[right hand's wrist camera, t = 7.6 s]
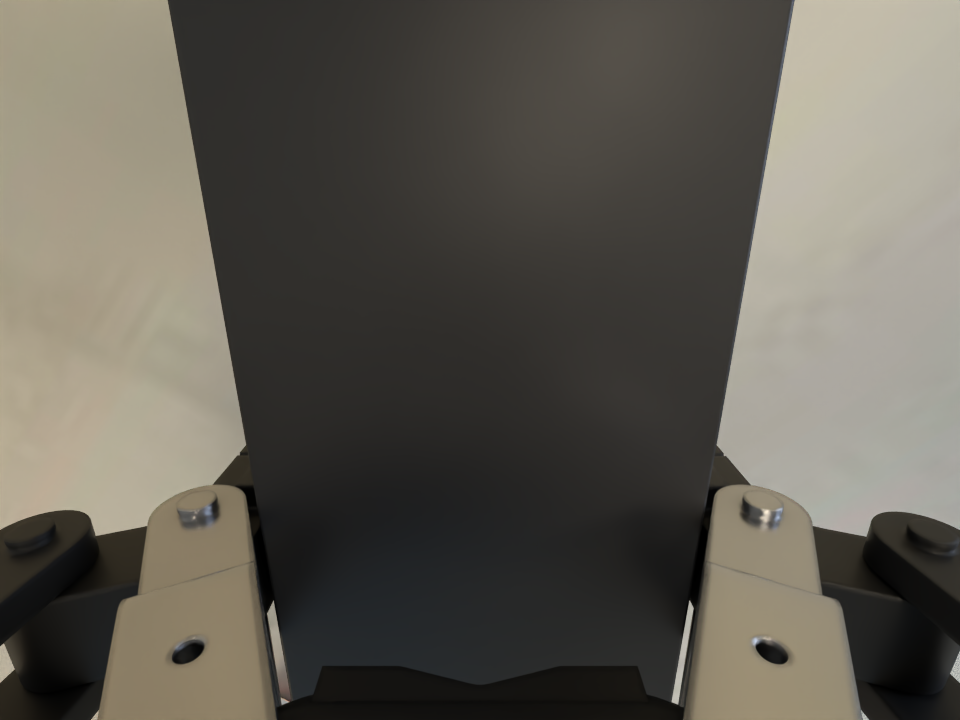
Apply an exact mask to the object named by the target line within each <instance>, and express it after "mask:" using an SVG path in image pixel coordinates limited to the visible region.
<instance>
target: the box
mask: <svg viewBox="0 0 960 720" xmlns="http://www.w3.org/2000/svg"><path fill="white" fill-rule="evenodd" d="M168 4H169V10H170V15H171V21H172V27H173V32H174V38H175V44H176V49H177V55H178V61H179V66H180V72H181V78H182V83H183V89H184V95H185V100H186V106H187V112H188V117H189V123H190V129H191V134H192V140H193V145H194V151H195V157H196V162H197V168H198V174H199V179H200V185H201V191H202V196H203V202H204V208H205V213H206V219H207V225H208V230H209V236H210V242H211V247H212V253H213V259H214V264H215V270H216V276H217V281H218V287H219V293H220V298H221V304H222V310H223V315H224V321H225V327H226V332H227V338H228V344H229V349H230V355H231V361H232V366H233V372H234V378H235V383H236V389H237V395H238V400H239V406H240V412H241V417H242V423H243V429H244V434H245V440H246V446H247V451H248V457H249V463H250V468H251V474H252V480H253V485H254V491H255V496H256V502H257V508H258V513H259V519H260V525H261V530H262V536H263V542H264V547H265V553H266V559H267V564H268V570H269V576H270V581H271V587H272V593H273V598H274V604H275V610H276V615H277V621H278V627H279V632H280V638H281V644H282V649H283V655H284V661H285V666H286V672H287V678H288V683H289V689H290V695H291V700H292V701H294V700H297V699H299V698H302V697H305V696H309V695H313V694H314V691H315V688H316V684H317V681H318V678H319V675H320V672H321V669H322V666H402V667H406V668H410V669H414V670H418V671H422V672H426V673H430V674H434V675H438V676H442V677H446V678H450V679H454V680H458V681H462V682H466V683H470V684H476V685H484V684H490V683H494V682H498V681H502V680H506V679H510V678H514V677H518V676H522V675H526V674H530V673H534V672H538V671H542V670H546V669H550V668H554V667H558V666H638V669H639V672H640V675H641V678H642V681H643V684H644V688H645V691H646V694H647V695H651V696H655V697H658V698H661V699H663V700H666V701H669V702H671V701H672V695H673V690H674V684H675V678H676V672H677V667H678V661H679V655H680V650H681V644H682V638H683V633H684V627H685V621H686V615H687V610H688V604H689V598H690V593H691V587H692V581H693V576H694V570H695V564H696V558H697V553H698V547H699V541H700V536H701V530H702V524H703V519H704V513H705V507H706V501H707V496H708V490H709V484H710V479H711V473H712V467H713V462H714V456H715V450H716V444H717V439H718V433H719V427H720V422H721V416H722V410H723V405H724V399H725V393H726V387H727V382H728V376H729V370H730V365H731V359H732V353H733V348H734V342H735V336H736V330H737V325H738V319H739V313H740V308H741V302H742V296H743V291H744V285H745V279H746V273H747V268H748V262H749V256H750V251H751V245H752V239H753V234H754V228H755V222H756V216H757V211H758V205H759V199H760V194H761V188H762V182H763V177H764V171H765V165H766V159H767V154H768V148H769V142H770V137H771V131H772V125H773V120H774V114H775V108H776V102H777V97H778V91H779V85H780V80H781V74H782V68H783V63H784V57H785V51H786V45H787V40H788V34H789V28H790V23H791V17H792V11H793V6H794V0H168Z"/></svg>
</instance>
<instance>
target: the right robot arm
mask: <svg viewBox="0 0 960 720" xmlns="http://www.w3.org/2000/svg"><path fill="white" fill-rule="evenodd" d="M273 600H274V598H273V593H272V587H271V581H270V576H269V570H268V564H267V559H266V553H265V547H264V542H263V536H262V530H261V525H260V519H259V513H258V508H257V502H256V496H255V491H254V485H253V480H252V474H251V468H250V463H249V457H248V451H247V446H245V447H244V449H243V450H242V451H241V452H240V455H238V456H237V457H236V458H235V459H234V460H233V462H232V463H231V464H230V465H229V466H228V467H227V469H226V470H225V471H224V472H223V473H222V474H221V476H220V477H219V478H218V479H217V480H216V482H215V483H214V484H213V485H208V486H202V487H197V488H194V489H190V490H187V491H185V492H182V493H180V494H177V495H175V496H173V497H172V498H170V499H168V500H166V501H165V502H163V503H162V504H161V505H160V506H158V507H157V508H156V509H155V510H154V511H153V513H152V514H151V516H150V517H149V520H148V525H147V526H145V527H141V528H136V529H130V530H125V531H120V532H115V533H110V534H105V535H99V536H95V532H94V529H93V526H92V523H91V519H90V518H89V516H88V515H87V514H85V513H83V512H80V511H74V510H62V511H54V512H48V513H43V514H39V515H36V516H32V517H29V518H26V519H23V520H21V521H18V522H16V523H14V524H11V525H9V526H7V527H5V528H3V529H1V530H0V646H1V645H2V644H3V643H4V644H5V647H6V649H7V651H8V654H9V656H10V659H11V661H12V663H13V666H14V668H15V670H14V671H13V672H12V673H10V674H9V675H8V676H7V677H6V678H5V679H4V680H3V681H2V682H1V683H0V720H91V719H92V717H93V716H94V715H95V714H96V713H97V711H98V710H99V714H98V719H97V720H863V719H862V713H861V710H862V711H863V713H864V714H865V715H866V716H867V717H868V719H869V720H960V683H959V682H958V681H957V680H956V679H955V678H954V677H953V676H952V675H951V674H950V672H951V670H952V668H953V665H954V663H955V661H956V658H957V656H958V654H959V651H960V530H958V529H956V528H954V527H952V526H950V525H948V524H945V523H943V522H940V521H937V520H935V519H931V518H928V517H925V516H921V515H917V514H912V513H906V512H885V513H881V514H878V515H876V516H875V517H874V518H873V519H872V521H871V524H870V528H869V531H868V534H867V537H864V536H859V535H854V534H849V533H844V532H838V531H833V530H828V529H823V528H819V527H815V526H813V525H812V520H811V517H810V516H809V514H808V512H807V511H806V510H805V509H804V508H803V507H802V506H800V505H799V504H798V503H797V502H795V501H794V500H792V499H790V498H789V497H787V496H785V495H783V494H780V493H778V492H775V491H773V490H770V489H766V488H763V487H758V486H752V485H750V484H749V482H748V481H747V480H746V479H745V478H744V477H743V475H742V474H741V473H740V472H739V471H738V470H737V468H736V467H735V466H734V465H733V464H732V463H731V461H730V460H729V459H728V458H727V457H726V456H724V453H723V452H722V451H721V450H720V449H719V447H718V446H717V445H716V450H715V456H714V462H713V467H712V473H711V479H710V484H709V490H708V496H707V501H706V507H705V513H704V519H703V524H702V530H701V536H700V541H699V547H698V553H697V558H696V564H695V570H694V576H693V581H692V587H691V593H690V598H689V600H690V601H691V603H692V605H693V607H694V610H693V615H692V621H691V626H690V633H689V639H688V646H687V652H686V658H685V665H684V671H683V678H682V684H681V690H680V697H679V703H678V705H677V704H675V703H672V702H669V701H666V700H663V699H661V698H658V697H655V696H651V695H647V694H646V691H645V688H644V684H643V681H642V678H641V675H640V672H639V669H638V666H558V667H554V668H550V669H546V670H542V671H538V672H534V673H530V674H526V675H522V676H518V677H514V678H510V679H506V680H502V681H498V682H494V683H490V684H484V685H476V684H470V683H466V682H462V681H458V680H454V679H450V678H446V677H442V676H438V675H434V674H430V673H426V672H422V671H418V670H414V669H410V668H406V667H402V666H322V669H321V672H320V675H319V678H318V681H317V684H316V688H315V691H314V694H313V695H309V696H305V697H302V698H299V699H297V700H294V701H291V702H288V703H285V704H283V705H282V703H281V697H280V690H279V684H278V677H277V671H276V665H275V658H274V652H273V646H272V639H271V633H270V626H269V621H268V615H267V613H268V611H269V608H270V606H271V604H272V602H273Z"/></svg>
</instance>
